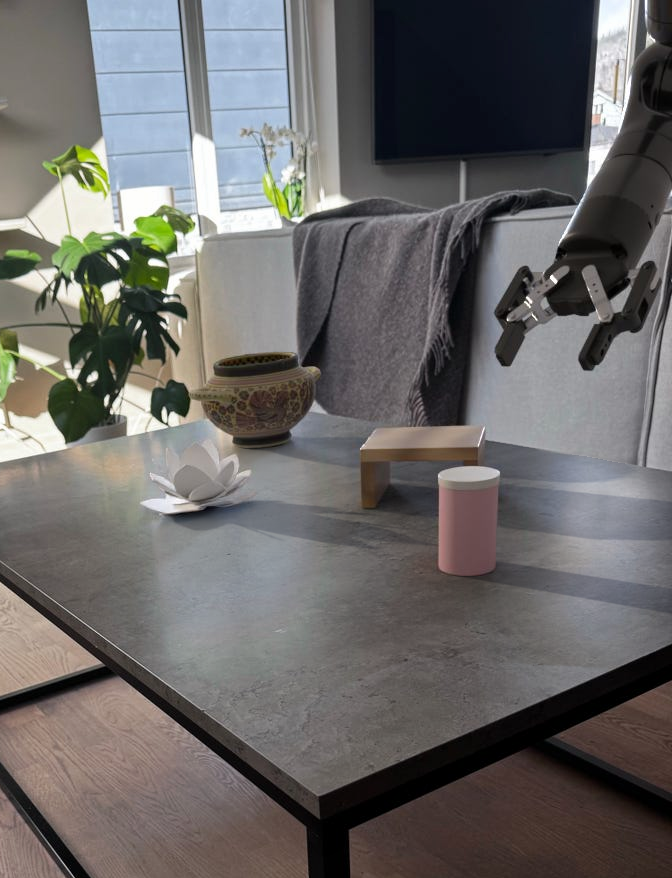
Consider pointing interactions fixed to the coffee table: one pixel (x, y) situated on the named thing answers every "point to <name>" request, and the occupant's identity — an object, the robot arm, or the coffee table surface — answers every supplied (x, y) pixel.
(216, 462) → the lotus flower
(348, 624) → the coffee table surface
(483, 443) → the shelf stand
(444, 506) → the tube
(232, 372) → the ceramic bowl
